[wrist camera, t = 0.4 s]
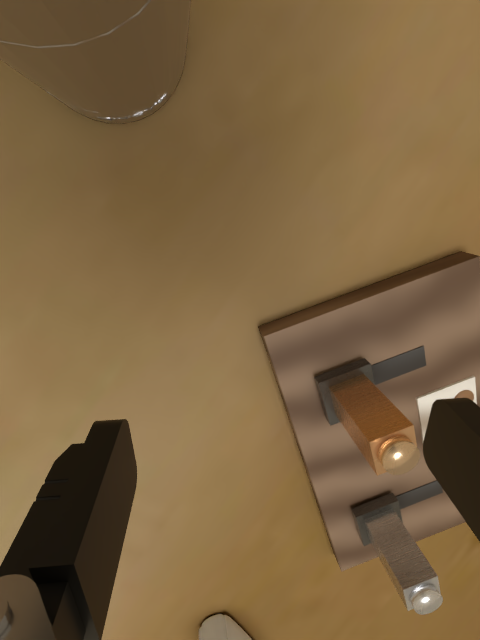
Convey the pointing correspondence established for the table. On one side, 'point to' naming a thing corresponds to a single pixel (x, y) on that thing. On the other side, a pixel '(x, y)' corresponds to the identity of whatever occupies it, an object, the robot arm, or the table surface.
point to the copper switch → (368, 418)
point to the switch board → (381, 387)
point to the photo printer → (221, 629)
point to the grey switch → (398, 553)
